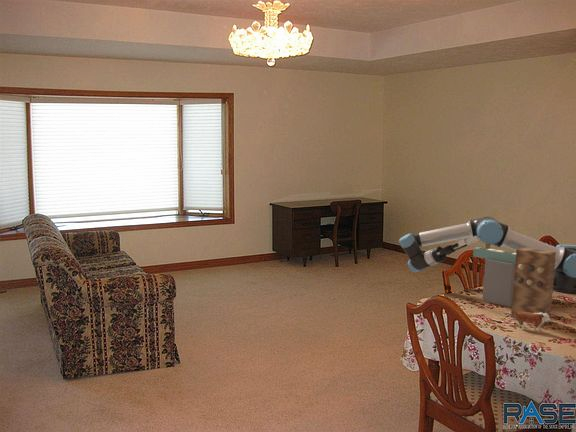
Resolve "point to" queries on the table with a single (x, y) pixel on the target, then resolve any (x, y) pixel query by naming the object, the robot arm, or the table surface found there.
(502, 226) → the robot arm
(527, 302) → the walnut stand
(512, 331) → the table surface
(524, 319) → the bull figurine
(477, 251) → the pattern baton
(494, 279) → the grey plinth
